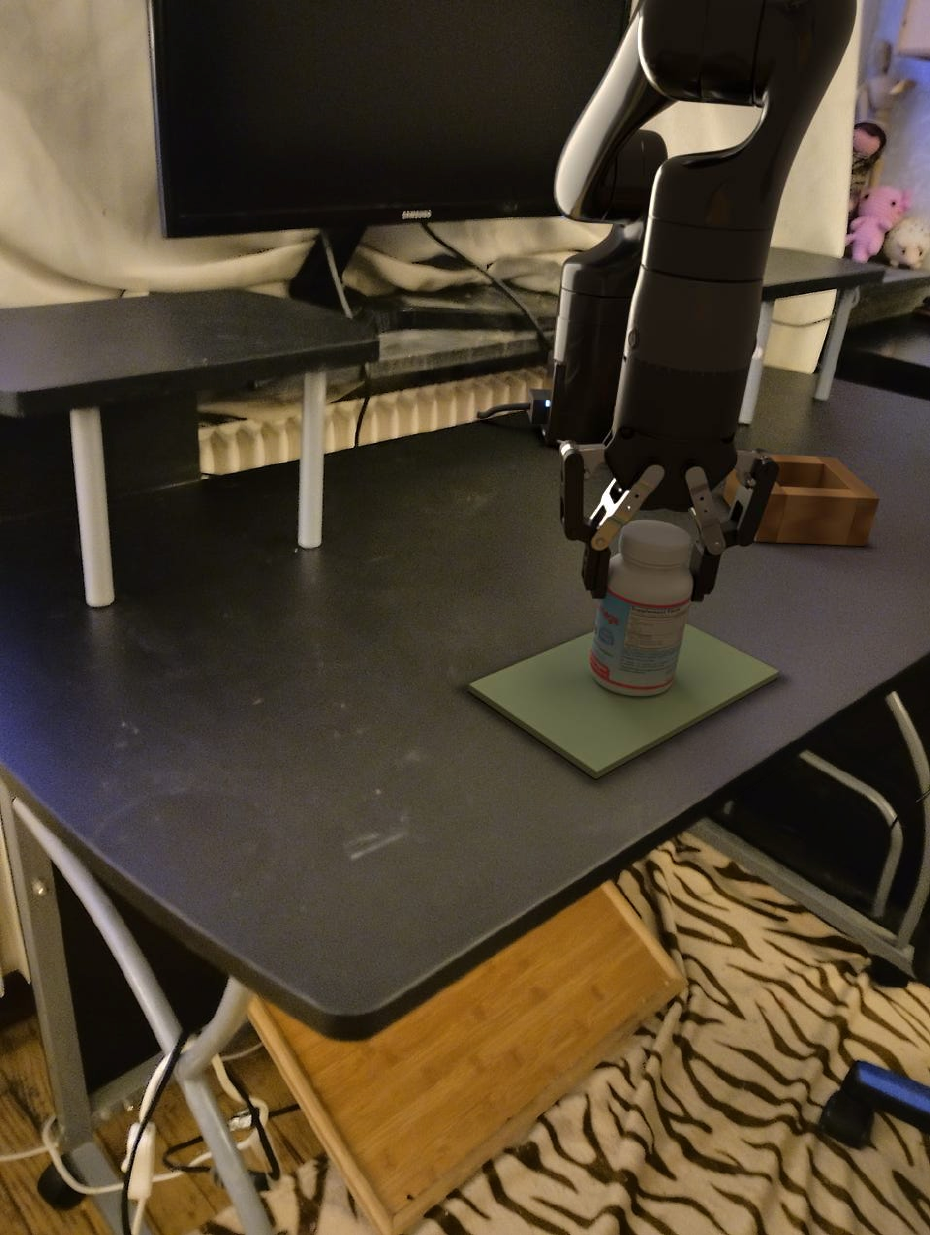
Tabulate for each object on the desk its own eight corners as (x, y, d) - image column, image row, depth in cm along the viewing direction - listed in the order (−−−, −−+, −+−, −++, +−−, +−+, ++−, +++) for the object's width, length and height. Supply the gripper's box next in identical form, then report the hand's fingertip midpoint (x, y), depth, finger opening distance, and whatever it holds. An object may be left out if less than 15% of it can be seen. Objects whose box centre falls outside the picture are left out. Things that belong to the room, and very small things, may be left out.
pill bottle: (584, 651, 73) (605, 511, 67) (666, 657, 73) (694, 518, 67) (591, 697, 67) (614, 549, 62) (679, 703, 67) (710, 556, 62)
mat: (595, 779, 61) (596, 771, 60) (467, 690, 68) (468, 683, 68) (777, 677, 72) (779, 670, 72) (651, 611, 80) (653, 605, 80)
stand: (755, 542, 94) (766, 493, 91) (722, 497, 103) (732, 452, 101) (866, 546, 95) (880, 498, 92) (823, 501, 104) (835, 457, 102)
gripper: (783, 339, 63) (731, 574, 71) (560, 327, 61) (533, 567, 70) (827, 372, 56) (764, 626, 64) (578, 359, 55) (546, 619, 63)
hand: (644, 594), depth 67 cm, fingers open, 6 cm apart
